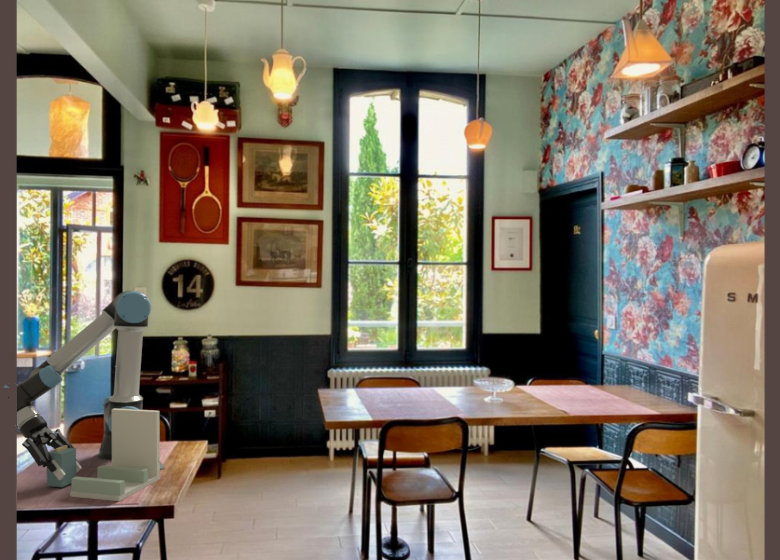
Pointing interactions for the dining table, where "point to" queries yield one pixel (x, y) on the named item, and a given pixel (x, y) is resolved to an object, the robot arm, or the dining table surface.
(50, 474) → the teal block with bar
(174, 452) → the dining table surface
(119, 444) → the pale green rail stand
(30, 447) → the robot arm
